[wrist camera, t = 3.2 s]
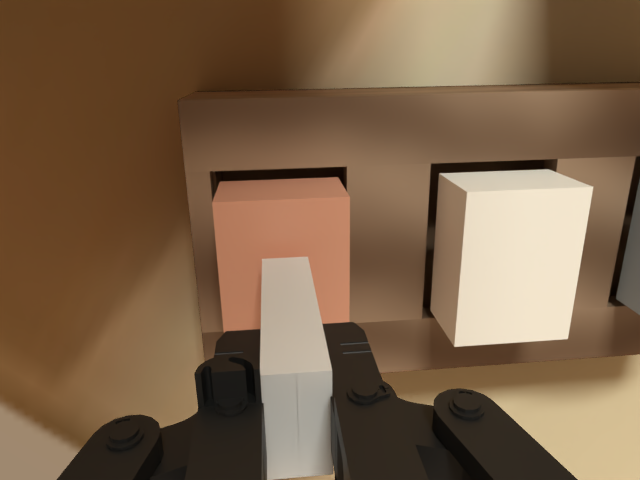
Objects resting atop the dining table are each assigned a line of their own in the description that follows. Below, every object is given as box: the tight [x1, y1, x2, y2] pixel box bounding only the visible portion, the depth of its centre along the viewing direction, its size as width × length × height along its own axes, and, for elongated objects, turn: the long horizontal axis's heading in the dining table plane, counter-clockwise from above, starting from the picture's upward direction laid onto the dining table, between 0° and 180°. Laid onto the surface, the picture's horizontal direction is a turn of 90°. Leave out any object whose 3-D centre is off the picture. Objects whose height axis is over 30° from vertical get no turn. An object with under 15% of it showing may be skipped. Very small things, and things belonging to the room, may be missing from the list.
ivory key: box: [430, 169, 593, 347], centre depth 20 cm, size 6×4×3 cm
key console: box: [178, 82, 640, 373], centre depth 24 cm, size 12×24×5 cm, turn 91°
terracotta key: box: [212, 177, 350, 333], centre depth 19 cm, size 6×4×3 cm
